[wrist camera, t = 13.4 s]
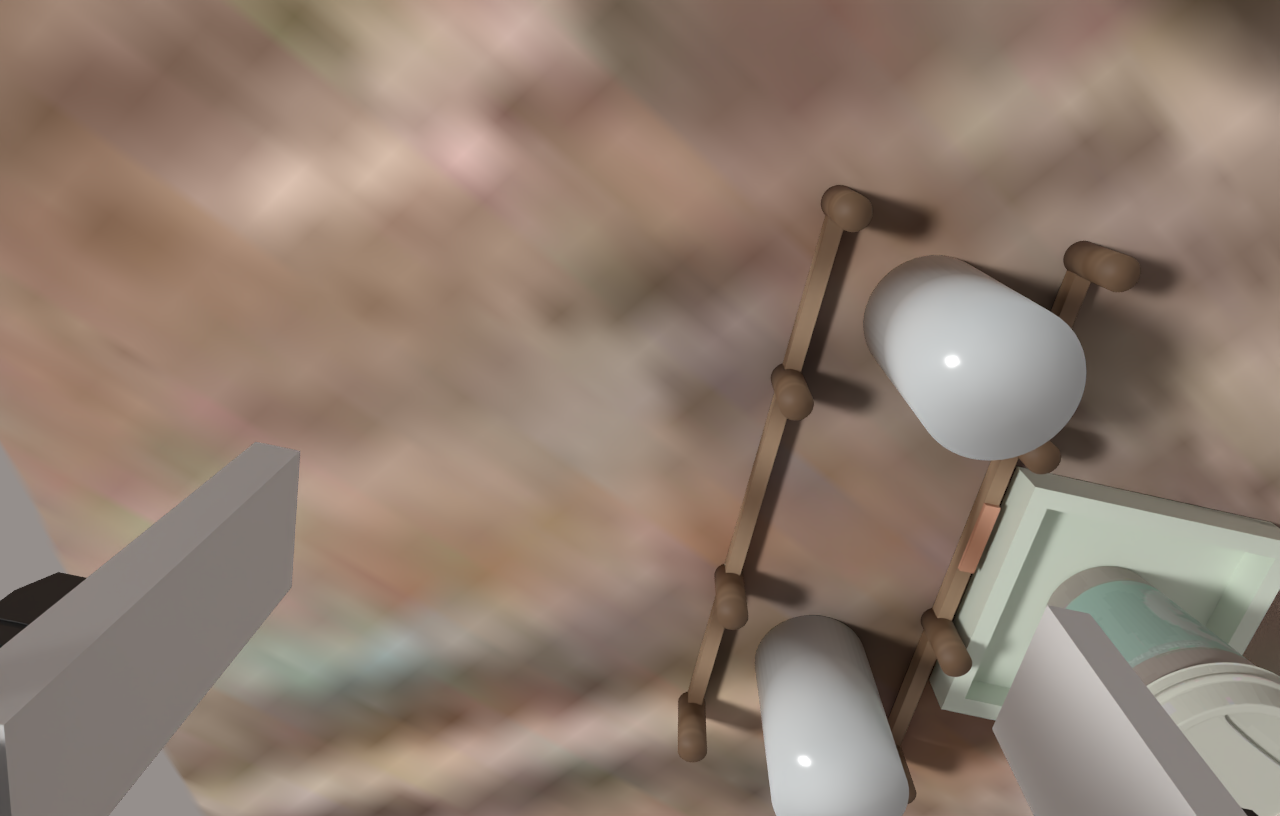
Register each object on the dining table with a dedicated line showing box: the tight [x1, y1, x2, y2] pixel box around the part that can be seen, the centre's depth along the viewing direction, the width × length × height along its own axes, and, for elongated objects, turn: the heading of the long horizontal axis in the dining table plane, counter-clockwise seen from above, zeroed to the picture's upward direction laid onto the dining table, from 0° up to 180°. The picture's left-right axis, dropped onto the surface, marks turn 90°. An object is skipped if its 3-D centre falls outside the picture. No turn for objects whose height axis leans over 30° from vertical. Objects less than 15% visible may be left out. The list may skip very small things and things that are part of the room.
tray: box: [929, 466, 1280, 721], centre depth 46 cm, size 14×14×2 cm
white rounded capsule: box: [755, 615, 909, 816], centre depth 44 cm, size 6×6×10 cm
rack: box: [678, 185, 1141, 804], centre depth 43 cm, size 32×14×4 cm, turn 168°
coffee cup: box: [1047, 566, 1280, 816], centre depth 41 cm, size 8×8×12 cm
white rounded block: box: [863, 255, 1086, 460], centre depth 37 cm, size 6×6×10 cm
